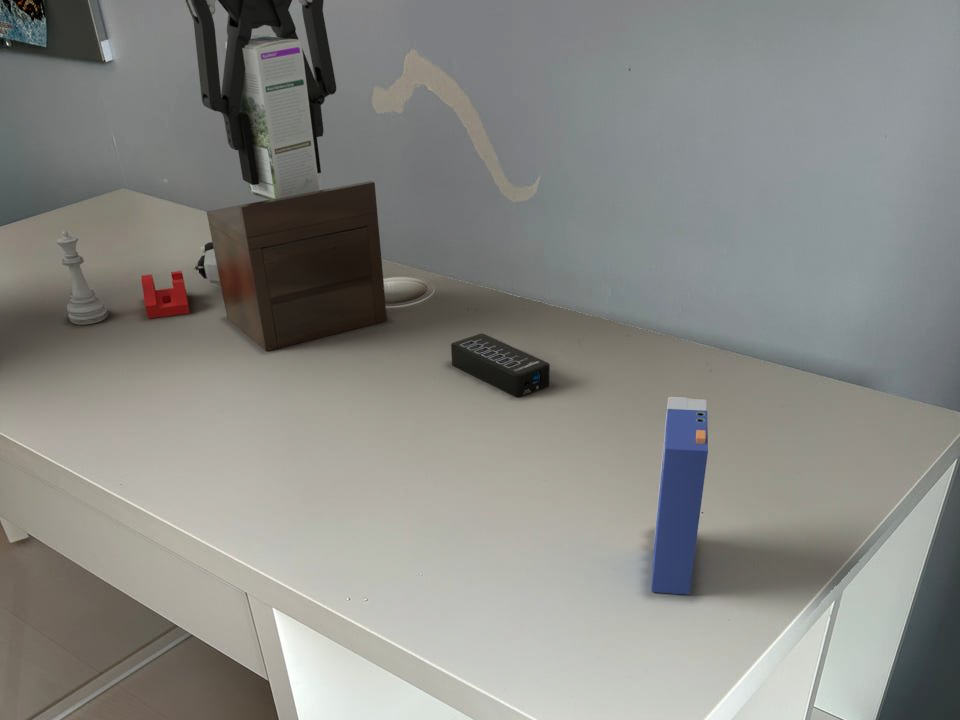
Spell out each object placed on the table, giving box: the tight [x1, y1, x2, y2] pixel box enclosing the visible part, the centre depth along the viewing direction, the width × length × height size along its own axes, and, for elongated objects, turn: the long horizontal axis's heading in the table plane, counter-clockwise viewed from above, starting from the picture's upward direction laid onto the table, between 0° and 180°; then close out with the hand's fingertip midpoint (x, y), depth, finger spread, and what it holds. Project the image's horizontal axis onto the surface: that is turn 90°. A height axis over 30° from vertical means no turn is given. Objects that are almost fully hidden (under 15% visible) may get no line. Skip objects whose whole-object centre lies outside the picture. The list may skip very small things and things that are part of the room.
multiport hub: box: [450, 333, 551, 398], centre depth 100 cm, size 4×11×2 cm, turn 39°
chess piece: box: [55, 230, 109, 326], centre depth 114 cm, size 4×4×10 cm
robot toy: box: [192, 241, 221, 287], centre depth 125 cm, size 12×4×15 cm
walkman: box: [651, 396, 709, 595], centre depth 70 cm, size 8×3×12 cm, turn 170°
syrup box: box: [224, 34, 321, 200], centre depth 102 cm, size 6×6×14 cm
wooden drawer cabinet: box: [206, 180, 388, 352], centre depth 110 cm, size 12×15×15 cm
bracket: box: [140, 270, 190, 319], centre depth 118 cm, size 6×5×3 cm
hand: (282, 175), depth 106 cm, fingers closed on syrup box, 6 cm apart
